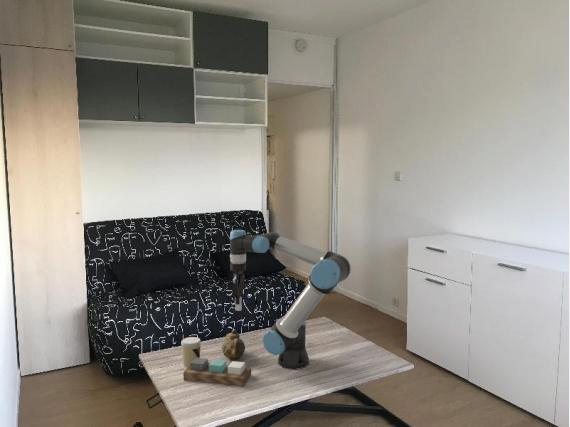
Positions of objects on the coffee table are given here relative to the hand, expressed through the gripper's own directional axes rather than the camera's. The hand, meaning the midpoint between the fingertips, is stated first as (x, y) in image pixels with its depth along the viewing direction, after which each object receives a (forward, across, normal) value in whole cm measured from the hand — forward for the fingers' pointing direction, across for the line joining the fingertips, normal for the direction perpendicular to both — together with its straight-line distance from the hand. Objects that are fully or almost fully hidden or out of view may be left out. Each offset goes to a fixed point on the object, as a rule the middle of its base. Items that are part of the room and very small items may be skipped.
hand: (238, 310), depth 228 cm
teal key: (+24, +18, -4) cm, 31 cm away
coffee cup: (+27, +7, -22) cm, 35 cm away
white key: (+24, +18, +5) cm, 31 cm away
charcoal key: (+24, +18, -13) cm, 33 cm away
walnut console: (+26, +18, -4) cm, 32 cm away
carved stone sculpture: (+27, -4, -4) cm, 27 cm away
